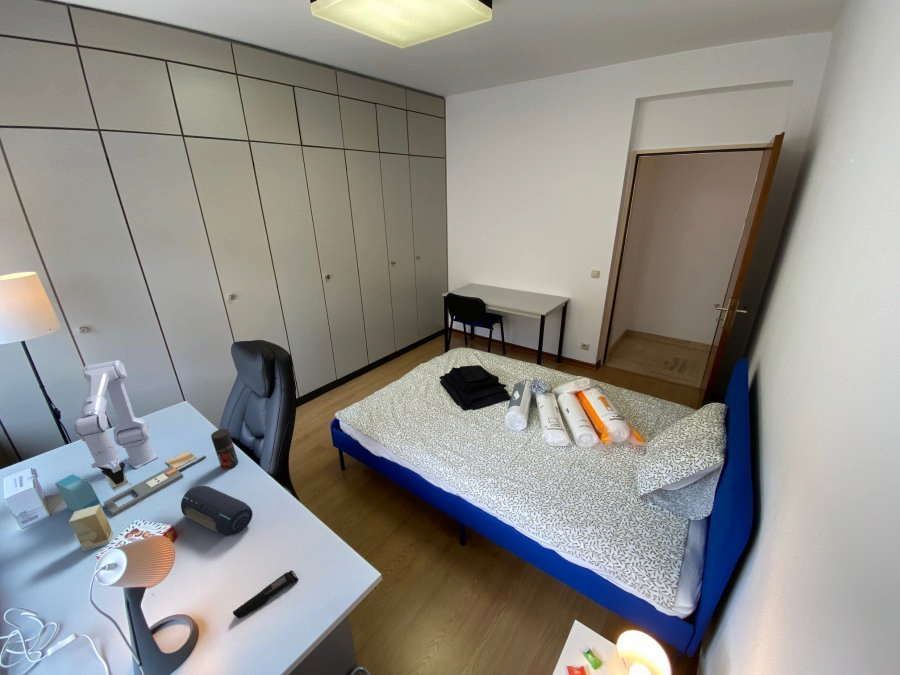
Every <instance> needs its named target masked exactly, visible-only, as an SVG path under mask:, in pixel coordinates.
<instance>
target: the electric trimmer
mask: <svg viewBox="0 0 900 675" xmlns="http://www.w3.org/2000/svg"><path fill="white" fill-rule="evenodd" d="M298 581H299V578H298V576H297V574H296V573H295V572H294V571H293V570H289V571H287V572H285V573H284V574H282V575H281V576H279V577H278V578H277V579H275V580H274V581H273V582H271V583H270V584H268V585H266V587H264V588H263V589H261V591H259V592H258V593H257V594H255V595H253V597H251V598H250V599H248V600H247V601H245V602H244V603H243V604H241V605H240V606H239V607H237V608H236V609H235V610H233V611H232V614H233V616H234V617H236V618H237V619H239V620H240V619H242V618H244V617H246V616H248V615H249V614H251V613H253V612H255V611H256V610H258V609H260V608H261V607H263V606H264V605H267V603H268V601H269V599H271V598H272V597H274V596H275V595H277V594H279V592H281V591H282V590H284V589H285V588H286V587H288V586H289V585H292V584H296V583H297V582H298Z"/></svg>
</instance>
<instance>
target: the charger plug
mask: <svg viewBox="0 0 900 675" xmlns="http://www.w3.org/2000/svg"><path fill="white" fill-rule="evenodd" d="M123 474H124V482H122V483H120V484H118V485H116V484H115V483H114V482H113V481H112V480H111V478H110V477H108V476H106V475H104V477H105V478H106V481H107V483H108V485H109V487H110V488H111V489H112V490H113V491H114V492H116V491H117V490H120V489H122V488H123V487H125V486H127V485H129V483H130V482H129V481H128V478H127V476H126V474H125V472H124V471H123Z"/></svg>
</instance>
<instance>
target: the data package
mask: <svg viewBox="0 0 900 675" xmlns="http://www.w3.org/2000/svg"><path fill="white" fill-rule="evenodd" d="M55 487H56V488H57V490H58V492H59V494H60V496H61V497H62V499H63V501H64V503H65V504H66V506H67V507H68V509H69V510H71V511H72V512H73V513H74V512H75V511H79V510H82V509H85V508H88V507H93V506H96V505H99V504H100V505H101V507H102V508H103V506H102V503H101V502H100V501H101V500H100V499H99V498H98V496H97V494H96V492H95V490H94V488H93V485H92V484H91V483H90V482H89V481H88V480H85V479H83V478H82V477H79V476H77V475H76V474H70V475H68V476H67V477H64V478H62V479H60V480H59V481H57V482H55Z"/></svg>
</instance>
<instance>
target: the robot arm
mask: <svg viewBox="0 0 900 675" xmlns="http://www.w3.org/2000/svg"><path fill="white" fill-rule="evenodd" d="M82 373H83V378H84V379H85V380H86V381H87V383H88V384H89V385H88V397H86V398H85V399H84V400H83V402H82V407H81V411H80V415H79V416H80V417H79V418H78V419H77V420H76V421H74V425H73V428H74V432H75V433H74V434H75V435H76V436H77V437H78V438H80V440H81V441H82V442H85V444H86V446H87V449H88V450H89V452H90V454H91V456H92V458H93V460H94V463H92V464H91V465H90V466H91V468H93V469H96V468H98V469H100V470H101V473H102V474H103V475H104V476H105V475H106V476H108V477H110V478H111V480H112V481H113V482H114V483H115V484H116V485H118V484H120V483H122V482H124V474H125V473H124V474H123V472H124V471H125V467H126V464H125V462H120V459H121V455H120V453H118V451H117V448H116V446H115V444H116V445H117V446H119V447H122V449H123V448H124V449H125V452H126V454H127V456H128V458H127V459H126V461H127V463H129V465H131V467H133V468H134V469H138V468H140V467H142V466H145V465H147V464H148V463H151V462H152V461H154V460H156V459H158V458H159V455H158V454H156V453H155V452H154V450H153V448H152V446H151V443H150V441H149V439H150V437H151V434H152V433H151V429H150V425H148V422H147V420H146V419H143V418H139V417H136V416H135V414H134V411H133V410H134V409H133V408H132V407H133V406H132V404H131V402H130V398H129V395H128V393H127V390H126V387H125V383H124V380H125V379H127V378H128V373H127V371H126V368H125V365H124V363H123V361H120V359H115V360H112V361H106V362H101V363H94V364H86V365H84V368H83V371H82ZM106 390H107V392H108V394H109V398H110V400H111V403H112V406H113V409H114V412H115V415H116V417H117V421H118V423H117V424H116V425H115V426H114V428H113V431H112V432H113V439H114V442H115V444H114V442H113V439H112V438H111V435H110V434H109V431H108V427H109V424H108V423H109V422H108V417H107V414H106V411H107V404H108V400H107V399H106V398H105V394H106Z"/></svg>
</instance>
